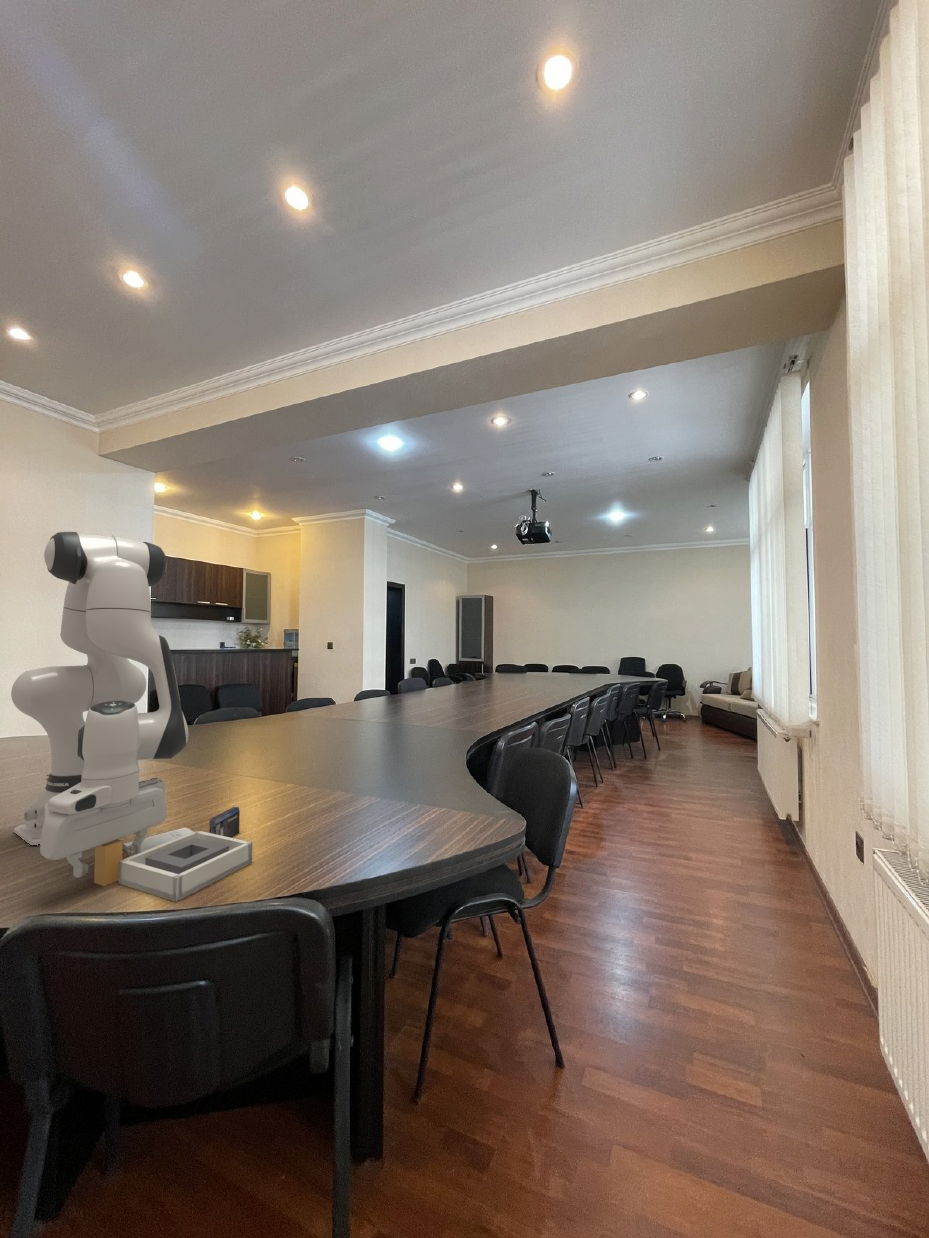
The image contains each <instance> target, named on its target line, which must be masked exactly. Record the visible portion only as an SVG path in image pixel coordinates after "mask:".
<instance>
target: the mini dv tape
mask: <svg viewBox="0 0 929 1238" xmlns="http://www.w3.org/2000/svg"><path fill="white" fill-rule="evenodd" d="M240 812H241V811H240V807H239V806H232V807H231V808H229V809H227V810H225V811H223V812H220V813H218V815H216V816H213V817H211V818H209V825H208V826H209V827H208V829H209V830H208V831H209V832H208V833H212V834H216V835H221V836H225V837H230V838H234V837H236V836H238V835H239V834H240ZM233 836H234V837H233Z"/></svg>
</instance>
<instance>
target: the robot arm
mask: <svg viewBox="0 0 929 1238" xmlns="http://www.w3.org/2000/svg"><path fill="white" fill-rule="evenodd" d="M43 554H44V555H43V557H44V562H45V566H46V567H47V568H46V569H47V571H48V572H49V573H50V574H51V576H53V577H55V578H57V579H60V580H62V581H66V582H68V584H67V587H66V590H65V596H64V601H63V609H62V615H61V626H60V635H59V636H60V638H61V641H62V642H63V644H64V645H65V646H67V647H68V648H69V649H72V650H75V651H77V652H79V653H81V654H85V655H86V656H87V664H84V665H59V666H57V665H56V666H47V667H42V668H40V667H39V668H36V669H35V668H34V669H31V670H25V671H24V672H22V673H20V675H19V676H18V677H17V678H16V679H15V681H14V682H13V685H12V688H11V693H10V695H11V696H10V697H11V701H12V703H13V705H14V706H15V708H16V709H18V711H20V712H21V713H22V714H24V715H27V716H29V717H31V718H32V719H33V720H35V721H36V722H38V724H40V725H41V727H42V728H43V729H44V730H45V732H46V735H47V736H48V739H49V743H50V755H51V765H50V766H51V769H50V770H51V772H50V773H49V774H46V777H47V778H46V785H45V787H44V788H45V791H44V792H42V794H41V795H39V796H38V798H36V799H35V800H34V801H33V802H32V803H30V804H29V806H28V810H26V811H24V814H23V817H24V821H25V823H22V824H20V825H17V826H16V827H14V828H13V833H14V832H16V833H17V834H18V835H20V837H22V838H24V839H25V840H26V842H29V844H30V845H37V846H39V847H40V848H39V851H40V855H41V856H43V858H45V859H48V860H51V861H59V860H62V859H64V858H65V859H66V860H67V861H68V863H70V864H71V866H72V867H73V869H72V870H73V873H72V874H73V877H74V878H81V877H83V876H85V875H88V874H89V870H88V869H89V864H88V863H85V862H81V861H80V860H79V859H81V858H82V857H83V852H84V851H88V850H90V849H93V848H95V847H96V846H99V845H102V844H105V843H108V842H110V841H113V840H116V839H118V840H120V839H121V838H123V837H128V836H130V835H132V834H133V835H135V836H134V838H133V843H132V844H131V845H129V846H128V852H126V853H127V855H128V857H131V856H134V855H136V854H139V853H140V852H141V844H142V842H143V841H144V839H145V838H147V837H146V836H147V835H148V829H149V828H153V827H155V826H158V825H161V824H163V823H165V820H166V818H167V814H168V813H167V811H168V810H167V803H166V801H167V800H166V796H165V792H166V787H165V786H166V783H165V782H164V780H163V779H160V778H159V777H152V778H150V779H145V780H140V765H139V763H138V761H142V760H143V761H144V760H150V759H152V760H166V759H167V760H169V759H173V758H174V757H176V755H178V754H179V753H181V752H182V751H184V749H185V748H186V747H187V743H188V741H189V727H188V723H187V720H186V718H185V715H184V712H183V710H182V705H181V698H180V692H179V687H178V682H177V677H176V676H177V675H176V671H175V666H174V661H173V658H172V653H171V648H170V645H169V643H168V641H167V638H166V637H164V636H162V635H161V634H158V633H157V631H156V630H155V628H154V626H153V623H152V617H151V607H152V606H151V593H150V587H154V586H156V585H158V584H159V583H160V582H162V580H163V579H164V577H165V574H166V572H167V571H166V570H167V557H166V553H165V551H163V549H162V548H161V546H158V545H156V544H154V543H150V542H148V541H138V540H136V539H135V540H134V539H130V538H127V537H122V536H114V535H103V534H101V535H100V534H92V533H88V534H87V533H78V532H77V531H60V532H56V533H55V534H54V535H52V536H51V537H50V539H49V541H48V542H47V544H46V546H45V548H44V553H43ZM130 660H132V661H135V662H138V663H140V664H142V665H144V666H145V667H147V668H148V669H149V670H150V671H151V673H152V674H153V675H152V676H153V677H154V683H155V689H156V694H157V699H158V705H159V708H158V709H157V710H156V711H153V712H152V711H151V712H150V711H149V712H138V707H137V705H136V704H137V703H138V702H139V701H141V700H142V698H143V696H144V695H145V692H146V689H147V680H146V677H145V674H144V672H143V671H142V670H141V669H140V668H139V667H138V666H137V665H134V663H132V662H131V661H130ZM84 712H87V714H86V717H85V719H84ZM20 837H19V838H20ZM26 842H25V843H26ZM29 844H28V845H29ZM38 844H40V845H38ZM30 845H29V846H30Z"/></svg>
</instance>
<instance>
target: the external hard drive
mask: <svg viewBox="0 0 929 1238" xmlns="http://www.w3.org/2000/svg"><path fill="white" fill-rule="evenodd" d="M192 832H194V831H193V830H192V829H190V828H188V827H181V828H178V829H174V830H171V831H166V832H163V833H159V834H155V835H151V836H147V837H145V839H144V841H143V842H142V844H141V852H144V851H146V850H149V849H152V848H154V847H157V846H159V845H162V844H164V843H167V842H169V841H172V840H174V839H177V838H180V837H182V836H185V835H187V834H190V833H192ZM132 843H133V841H129V842H124V843H122V850H124V851H125V852H126V853H127V852H128V846H129V845H131V844H132ZM141 852H140V853H141Z"/></svg>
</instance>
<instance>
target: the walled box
mask: <svg viewBox="0 0 929 1238" xmlns="http://www.w3.org/2000/svg"><path fill="white" fill-rule="evenodd" d="M250 864H251V865H252V864H253V842H252V841H248V840H244V839H238V838H235V837H232V838H230V837H225V836H221V835H216V834H212V833H209V832H207V831H201V830H195V831H193V832H192V833H190V834H187V835H185V836H182V837H180V838H177V839H174V840H172V841H169V842H167V843H164V844H162V845H159V846H157V847H154V848H152V849H149V850H146V851H144V852H141V853H139V854H136V855H134V856H128V857H126V858H124V859H123V858H122V860H121V861H119V867H118V880H117V884H118V885H121V886H124V887H126V888H127V887H128V888H131V889H134V890H137V891H139V892H140V891H141V892H143V893H147V894H149V895H153V896H156V897H159V898H163V899H166V900H169V901H171V902H175V903H177V902H179V901H181V900H183V899H185V898H187V897H188V896H191V895H193V894H195V893H197V892H198V891H200V890H202V889H204V888H207V887H208V886H210V885H213V884H214V883H216V882H217V881H220V880H222V879H224V878H226V877H227V876H229V875H232V874H233V873H236V872H238V871H239V870H241V869H243V868H245V867H247V866H249V865H250Z"/></svg>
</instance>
